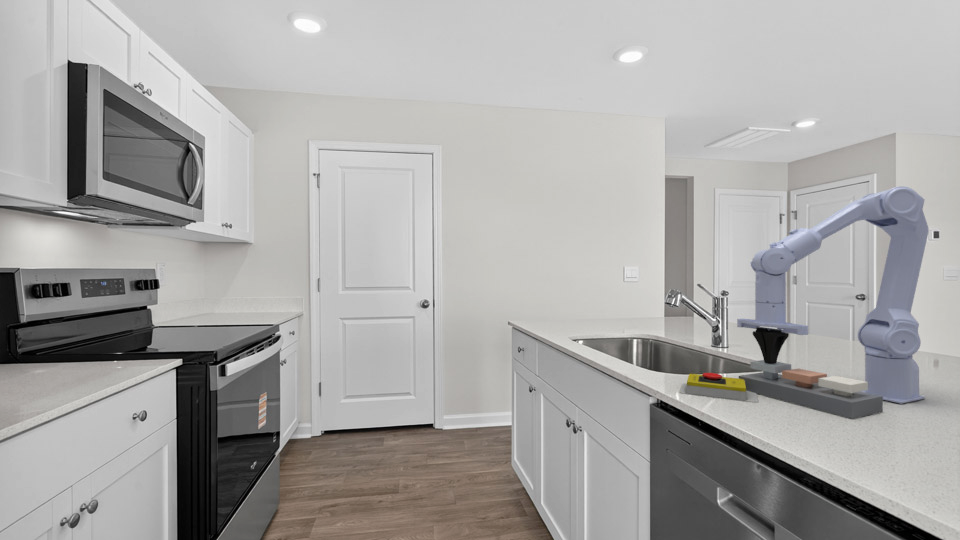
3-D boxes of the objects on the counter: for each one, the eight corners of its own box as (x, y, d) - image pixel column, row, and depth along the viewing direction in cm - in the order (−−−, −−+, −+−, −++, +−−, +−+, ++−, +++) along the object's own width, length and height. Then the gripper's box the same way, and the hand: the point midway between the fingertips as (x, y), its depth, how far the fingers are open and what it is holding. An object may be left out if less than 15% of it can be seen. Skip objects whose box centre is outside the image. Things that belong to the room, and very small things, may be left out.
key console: (767, 384, 103) (767, 371, 103) (882, 412, 83) (882, 396, 83) (738, 388, 99) (738, 375, 99) (851, 419, 79) (851, 402, 79)
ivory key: (835, 397, 88) (835, 375, 88) (868, 405, 83) (867, 382, 83) (818, 400, 86) (818, 378, 86) (851, 408, 81) (851, 385, 81)
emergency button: (682, 367, 104) (756, 374, 97) (682, 385, 104) (756, 394, 97) (678, 375, 96) (759, 384, 89) (678, 395, 96) (759, 405, 89)
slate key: (766, 378, 101) (766, 359, 101) (791, 384, 96) (791, 364, 96) (750, 380, 99) (750, 361, 99) (775, 386, 94) (774, 366, 94)
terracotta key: (798, 388, 95) (798, 368, 95) (826, 395, 90) (826, 373, 90) (782, 391, 93) (782, 370, 93) (810, 398, 88) (810, 376, 88)
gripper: (728, 300, 103) (728, 358, 103) (792, 305, 89) (792, 371, 89) (748, 300, 106) (748, 356, 106) (814, 304, 92) (814, 368, 92)
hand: (770, 363), depth 98 cm, fingers closed, pressing on slate key
